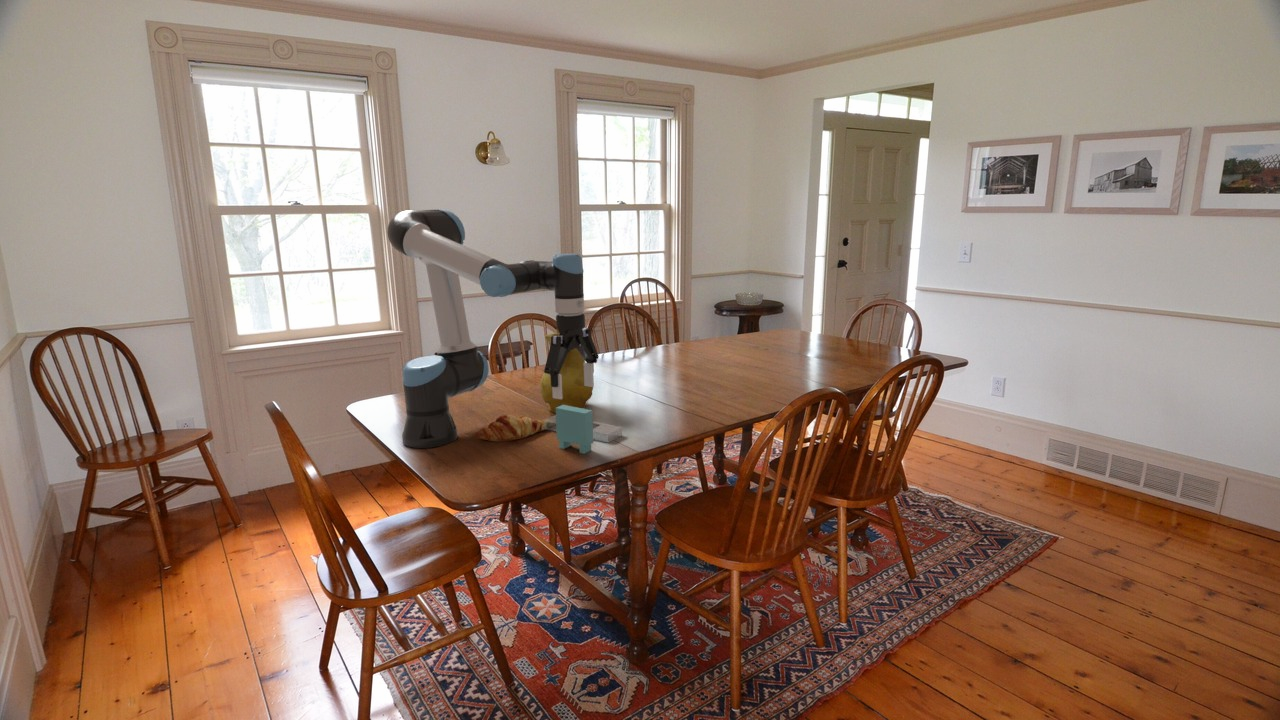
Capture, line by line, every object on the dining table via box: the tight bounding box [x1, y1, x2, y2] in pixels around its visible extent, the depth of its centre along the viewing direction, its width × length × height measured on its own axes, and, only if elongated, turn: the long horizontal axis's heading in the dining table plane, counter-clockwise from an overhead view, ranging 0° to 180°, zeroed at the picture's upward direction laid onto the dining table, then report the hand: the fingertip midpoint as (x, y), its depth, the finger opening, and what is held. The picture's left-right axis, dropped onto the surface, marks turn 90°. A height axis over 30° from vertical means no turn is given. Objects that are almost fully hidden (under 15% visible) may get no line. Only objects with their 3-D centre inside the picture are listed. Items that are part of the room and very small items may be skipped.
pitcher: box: [540, 332, 594, 414], centre depth 212 cm, size 17×19×25 cm
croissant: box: [474, 414, 547, 443], centre depth 188 cm, size 21×10×8 cm, turn 120°
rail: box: [541, 414, 623, 444], centre depth 191 cm, size 7×24×2 cm, turn 58°
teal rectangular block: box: [555, 405, 594, 455], centre depth 177 cm, size 3×10×12 cm, turn 58°
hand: (573, 392), depth 174 cm, fingers open, 13 cm apart
